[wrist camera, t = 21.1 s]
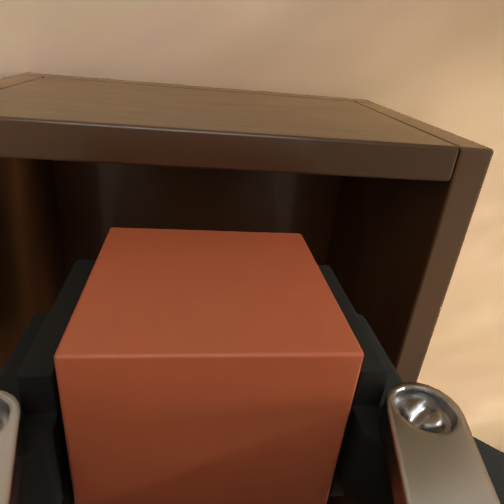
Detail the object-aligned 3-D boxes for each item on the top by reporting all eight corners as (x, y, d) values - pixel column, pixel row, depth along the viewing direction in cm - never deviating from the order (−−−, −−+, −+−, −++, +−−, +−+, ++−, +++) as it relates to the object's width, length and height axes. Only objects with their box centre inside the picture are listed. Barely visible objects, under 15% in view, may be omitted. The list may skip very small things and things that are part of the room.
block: (109, 226, 10) (51, 356, 6) (301, 232, 11) (366, 354, 7) (119, 377, 12) (80, 551, 8) (280, 374, 12) (319, 534, 8)
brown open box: (26, 72, 17) (-130, 107, 9) (368, 100, 18) (496, 149, 11) (69, 398, 24) (6, 577, 16) (310, 393, 26) (360, 551, 18)
